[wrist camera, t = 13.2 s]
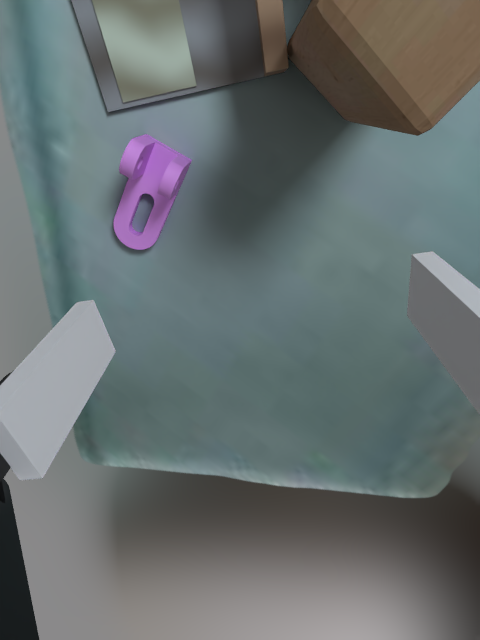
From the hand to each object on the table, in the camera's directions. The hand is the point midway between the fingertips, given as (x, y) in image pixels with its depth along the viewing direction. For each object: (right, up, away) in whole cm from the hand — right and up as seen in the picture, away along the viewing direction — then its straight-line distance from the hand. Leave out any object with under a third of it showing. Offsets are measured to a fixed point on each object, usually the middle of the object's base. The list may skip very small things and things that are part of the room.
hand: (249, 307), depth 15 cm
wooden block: (+11, +27, +20) cm, 35 cm away
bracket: (-11, +14, +29) cm, 34 cm away
